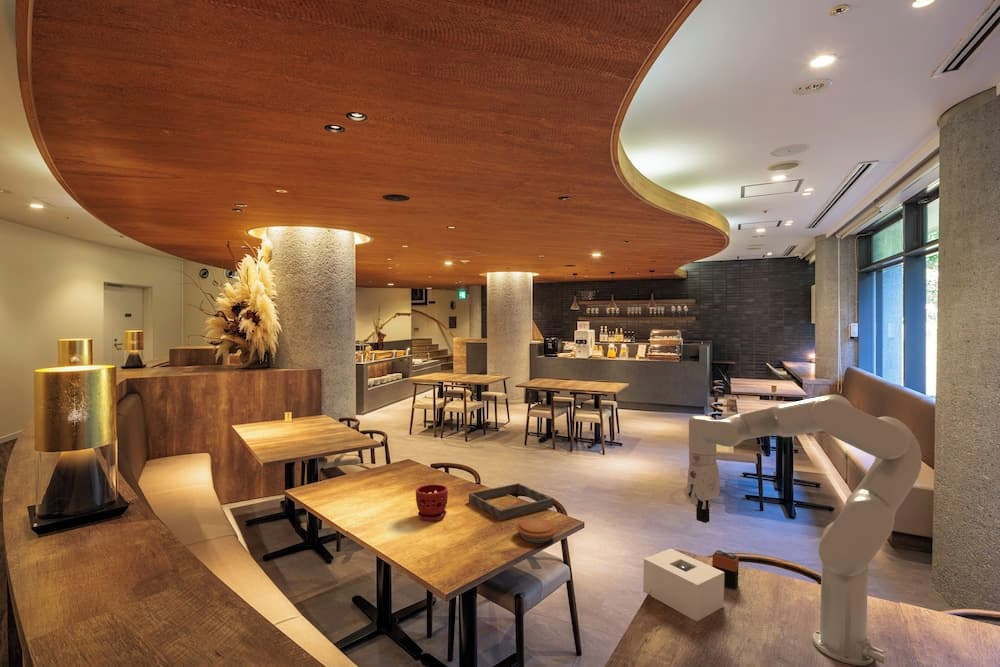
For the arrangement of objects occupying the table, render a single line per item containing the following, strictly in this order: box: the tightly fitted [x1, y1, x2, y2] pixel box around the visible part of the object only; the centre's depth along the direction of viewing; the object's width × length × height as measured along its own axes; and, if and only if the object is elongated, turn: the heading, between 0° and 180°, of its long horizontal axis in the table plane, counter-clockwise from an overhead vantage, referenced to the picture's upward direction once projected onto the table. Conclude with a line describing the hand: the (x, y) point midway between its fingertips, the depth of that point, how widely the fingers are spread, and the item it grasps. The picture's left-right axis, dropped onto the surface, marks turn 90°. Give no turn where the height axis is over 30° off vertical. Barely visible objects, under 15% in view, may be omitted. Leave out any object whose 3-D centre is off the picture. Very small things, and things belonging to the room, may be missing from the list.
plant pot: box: [415, 483, 449, 522], centre depth 203 cm, size 13×13×12 cm
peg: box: [676, 563, 690, 572], centre depth 145 cm, size 4×4×8 cm
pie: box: [515, 518, 558, 544], centre depth 187 cm, size 15×16×5 cm
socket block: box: [642, 548, 725, 622], centre depth 145 cm, size 18×13×10 cm
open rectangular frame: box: [468, 482, 554, 522], centre depth 219 cm, size 25×28×4 cm
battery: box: [711, 549, 740, 590], centre depth 154 cm, size 4×7×10 cm, turn 52°
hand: (702, 520), depth 145 cm, fingers closed
